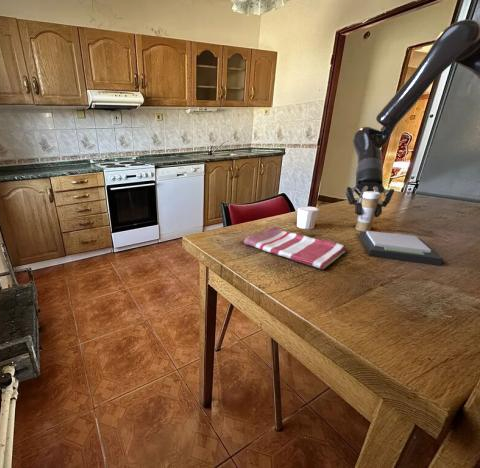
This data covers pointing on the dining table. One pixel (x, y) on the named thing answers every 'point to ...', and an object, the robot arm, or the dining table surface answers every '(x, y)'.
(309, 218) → the white cup
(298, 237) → the dish towel
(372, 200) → the sprinkles bottle
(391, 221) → the dining table surface
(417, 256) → the scale
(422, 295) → the dining table surface
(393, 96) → the robot arm
